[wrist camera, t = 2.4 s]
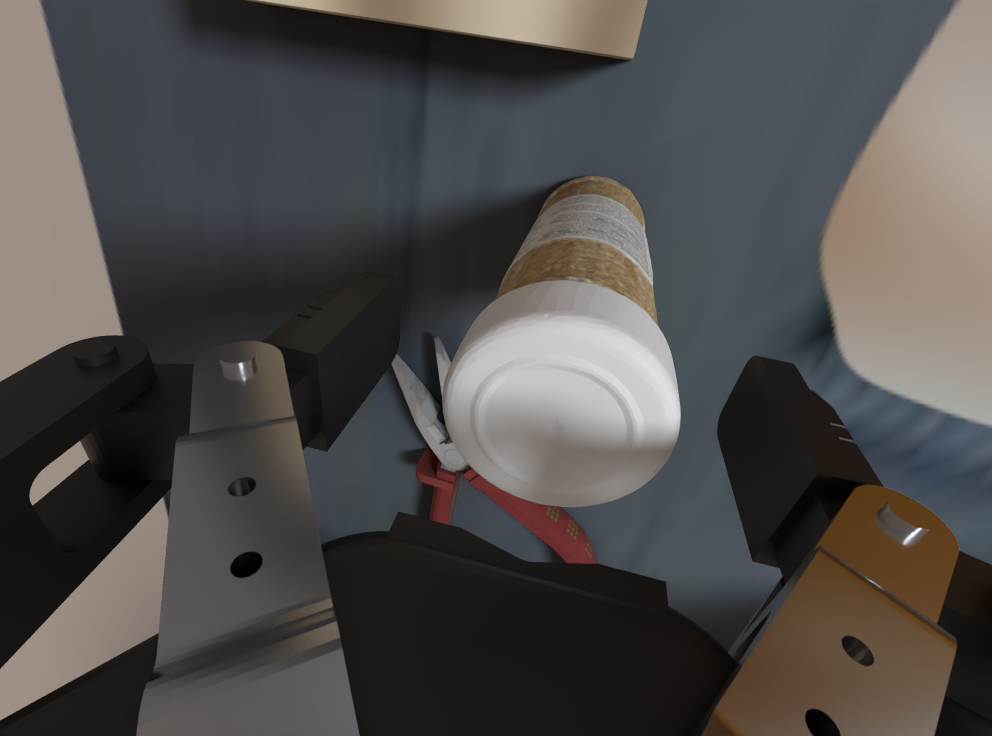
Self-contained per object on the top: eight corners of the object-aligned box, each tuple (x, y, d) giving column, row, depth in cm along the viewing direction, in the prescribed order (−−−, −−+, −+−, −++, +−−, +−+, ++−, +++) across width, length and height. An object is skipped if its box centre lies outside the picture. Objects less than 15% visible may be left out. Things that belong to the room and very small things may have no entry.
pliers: (521, 308, 23) (510, 334, 21) (606, 572, 32) (605, 609, 30) (332, 348, 27) (307, 373, 25) (455, 573, 36) (445, 605, 34)
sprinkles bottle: (599, 299, 21) (579, 547, 10) (515, 242, 21) (399, 441, 10) (670, 213, 19) (745, 420, 8) (577, 147, 18) (513, 266, 7)
